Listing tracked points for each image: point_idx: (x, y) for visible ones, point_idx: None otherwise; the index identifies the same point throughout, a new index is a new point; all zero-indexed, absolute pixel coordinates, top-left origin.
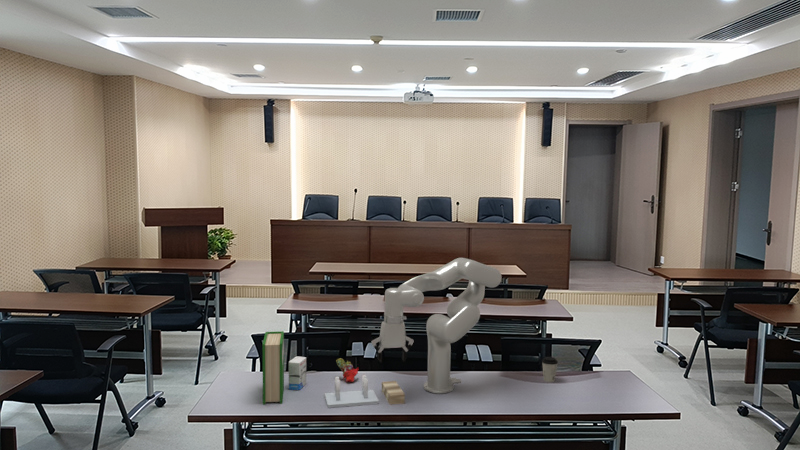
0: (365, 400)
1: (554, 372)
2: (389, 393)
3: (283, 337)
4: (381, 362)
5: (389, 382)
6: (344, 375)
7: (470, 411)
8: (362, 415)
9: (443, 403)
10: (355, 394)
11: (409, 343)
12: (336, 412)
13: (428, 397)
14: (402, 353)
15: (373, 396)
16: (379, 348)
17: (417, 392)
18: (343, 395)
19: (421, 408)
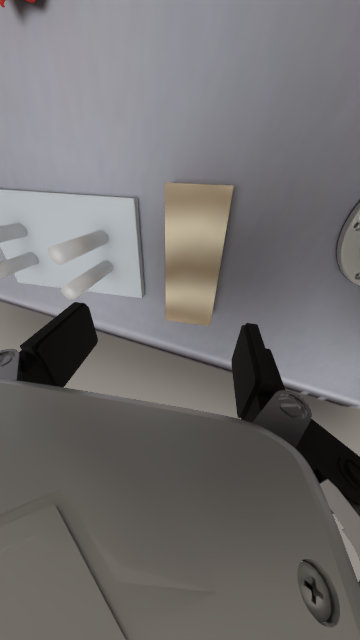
0: (107, 285)
1: None
2: (168, 307)
3: None
4: (95, 338)
5: (197, 199)
6: None
7: (331, 388)
8: (105, 333)
9: (308, 342)
10: (74, 230)
11: (347, 530)
12: (51, 306)
13: (299, 297)
14: (246, 366)
15: (130, 264)
16: (3, 379)
17: (294, 246)
18: (38, 227)
19: None
